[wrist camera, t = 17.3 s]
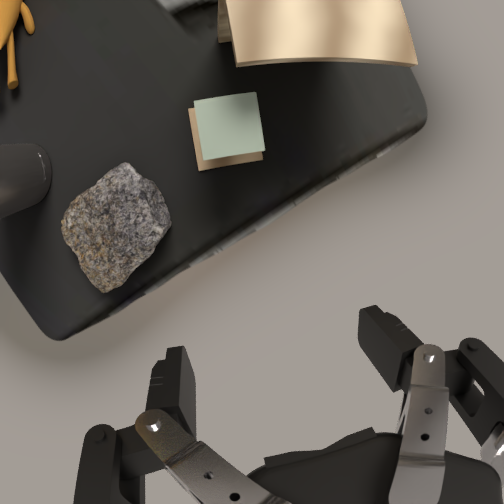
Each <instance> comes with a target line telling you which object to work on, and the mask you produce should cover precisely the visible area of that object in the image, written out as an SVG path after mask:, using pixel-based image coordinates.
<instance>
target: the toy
mask: <svg viewBox="0 0 504 504" xmlns="http://www.w3.org/2000/svg"><path fill="white" fill-rule="evenodd" d="M22 1H23V0H0V50H1V49H2V47H3V46H4V45H5V43H6V42H7V55H8V88H9V89H14V88H16V87H17V86H18V78H17V74H16V65H15V50H14V37H13V29H14V27H15V25H16V22H17V19H18V16H19V13H20V12H21V14H22V17H23V20H24V24H25V28H26V30H27V32H28V33H29V34H33V33H34V28H35V26H34V21H33V17H32V15H31V13H30V10H29V9H28V7H27V6H26V4H25V3H23V2H22Z"/></svg>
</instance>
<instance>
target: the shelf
mask: <svg viewBox="0 0 504 504" xmlns="http://www.w3.org/2000/svg"><path fill="white" fill-rule="evenodd" d="M218 41H219V43H222V42H230V41H232V46H233V52H234V57H235V63H236V67H242V66H251V65H260V64H272V63H287V62H314V61H336V62H363V63H377V64H388V65H398V66H406V67H412V66H415V65H418V62H417V58H416V54H415V49H414V45H413V41H412V38H411V34H410V31H409V27H408V24H407V20H406V17H405V14H404V11H403V8H402V5H401V2H400V0H218Z"/></svg>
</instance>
